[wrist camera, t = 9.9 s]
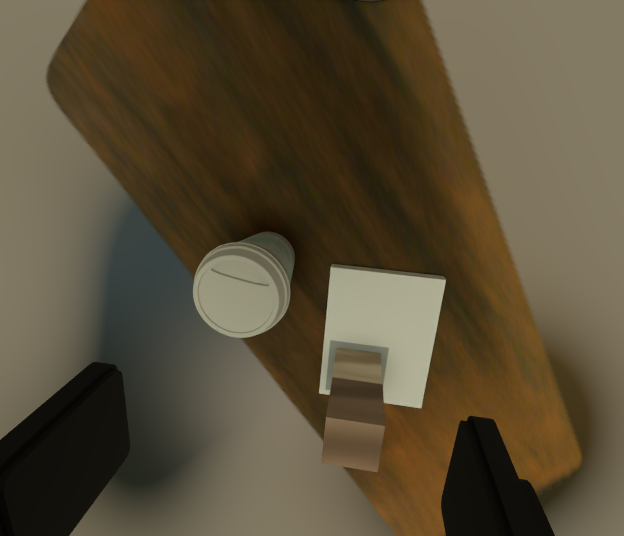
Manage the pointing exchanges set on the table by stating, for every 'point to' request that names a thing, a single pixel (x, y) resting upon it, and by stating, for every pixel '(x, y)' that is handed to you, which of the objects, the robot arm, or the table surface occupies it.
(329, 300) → the build board
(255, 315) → the coffee cup
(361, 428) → the walnut block
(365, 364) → the beech block
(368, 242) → the table surface
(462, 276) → the table surface
